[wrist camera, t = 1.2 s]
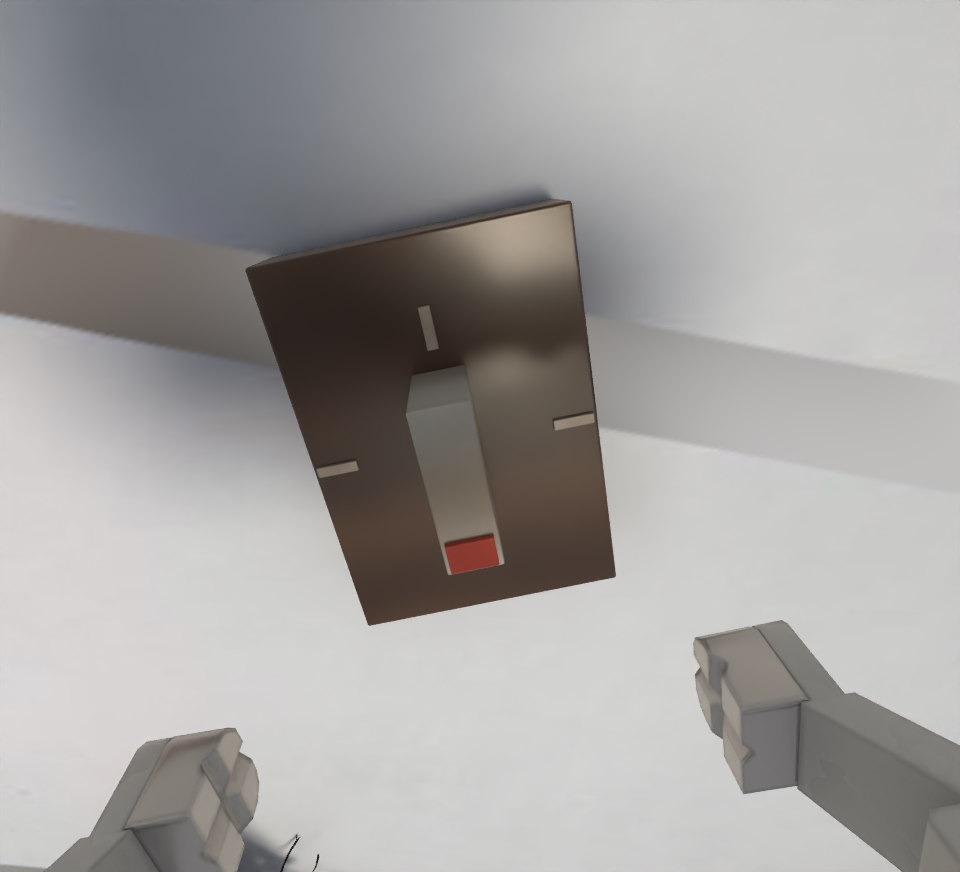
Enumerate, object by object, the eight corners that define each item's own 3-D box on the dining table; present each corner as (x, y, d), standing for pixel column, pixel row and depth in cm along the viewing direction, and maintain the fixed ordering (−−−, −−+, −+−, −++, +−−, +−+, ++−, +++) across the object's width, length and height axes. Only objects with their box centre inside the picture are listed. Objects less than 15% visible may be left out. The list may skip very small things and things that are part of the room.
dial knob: (411, 375, 19) (404, 416, 15) (465, 364, 19) (470, 403, 15) (446, 516, 21) (447, 580, 18) (495, 507, 21) (505, 569, 18)
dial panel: (270, 257, 20) (241, 269, 17) (553, 198, 20) (573, 200, 17) (375, 579, 26) (367, 629, 23) (597, 535, 25) (617, 580, 23)
